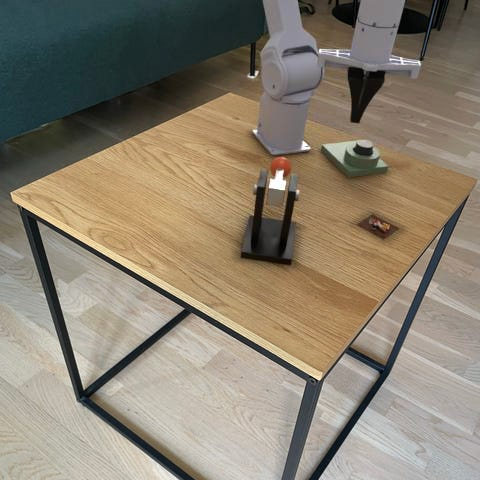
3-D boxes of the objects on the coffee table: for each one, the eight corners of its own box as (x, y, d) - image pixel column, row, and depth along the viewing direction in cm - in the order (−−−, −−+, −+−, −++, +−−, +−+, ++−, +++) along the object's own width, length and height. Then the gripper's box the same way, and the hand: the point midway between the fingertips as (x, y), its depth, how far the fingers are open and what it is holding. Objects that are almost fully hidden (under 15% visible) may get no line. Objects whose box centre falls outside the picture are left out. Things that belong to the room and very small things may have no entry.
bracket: (248, 220, 74) (255, 160, 67) (295, 227, 74) (306, 167, 67) (240, 257, 68) (246, 194, 61) (291, 265, 68) (303, 202, 61)
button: (350, 149, 87) (353, 140, 86) (365, 148, 88) (367, 138, 87) (359, 157, 86) (362, 148, 84) (374, 156, 86) (377, 146, 85)
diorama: (382, 235, 74) (386, 224, 73) (361, 224, 76) (365, 212, 74) (392, 228, 76) (396, 216, 74) (372, 217, 78) (375, 206, 76)
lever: (269, 171, 73) (272, 152, 72) (289, 174, 73) (293, 155, 71) (262, 206, 65) (265, 185, 63) (285, 209, 65) (288, 188, 63)
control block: (320, 150, 92) (323, 135, 90) (357, 146, 94) (361, 130, 92) (348, 177, 86) (352, 161, 84) (386, 172, 88) (391, 156, 86)
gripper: (324, 23, 65) (307, 125, 75) (435, 36, 65) (403, 137, 74) (325, 10, 70) (309, 107, 80) (428, 22, 70) (399, 118, 79)
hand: (354, 120), depth 77 cm, fingers closed
